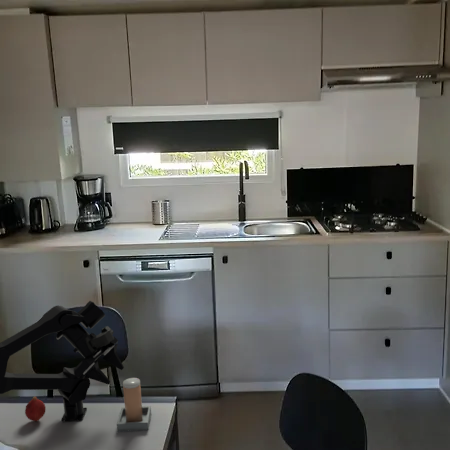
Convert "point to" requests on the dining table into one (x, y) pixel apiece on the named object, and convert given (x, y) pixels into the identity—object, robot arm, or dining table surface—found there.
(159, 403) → the dining table surface
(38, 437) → the dining table surface
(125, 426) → the tray
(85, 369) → the robot arm
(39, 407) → the onion
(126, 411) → the brown cylinder grey top
